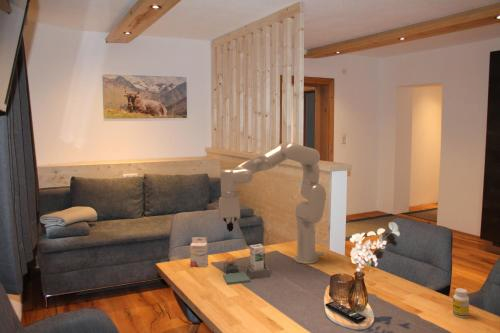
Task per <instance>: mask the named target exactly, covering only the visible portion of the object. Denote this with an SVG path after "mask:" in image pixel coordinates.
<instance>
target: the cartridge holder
mask: <svg viewBox="0 0 500 333" xmlns="http://www.w3.org/2000/svg"><path fill="white" fill-rule="evenodd" d="M270 271H271V270H270V268H269V267H268V265H266V264H265V269H264V270H255V271H252V270H251V265H250V264H248V265H246V274H247V276H248V277H249V279H250V280H253V279H259V278H268V277H270V276H271V274H270V273H271V272H270ZM252 278H253V279H252Z"/></svg>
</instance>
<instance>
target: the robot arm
mask: <svg viewBox="0 0 500 333" xmlns="http://www.w3.org/2000/svg"><path fill="white" fill-rule="evenodd" d="M320 159H321V154H320V152H319V151H318V150H317V149H315V148H312V147H308V146H305V145H301V144H298V143H295V142H288V141H286V142H281V143H280V144H278V145H276V146H274V147H273V148H271V149H270V150H267V151H266V152H263V153H261V154H260V155H257V156H256V157H252V158H250V159H249V160H246V161H244V162H243V163H241V164H239V165H237V166H235V168H226V169H222V170H220V175H219V176H220V195H221V196H219V199H218V200H219V201H218V215H219V217H218V220H220V221H223V222H225V223H226V230H227V231H228V232H233V230H234V223H235V222H236V221H237V220H238V219H239V220H240V219H241V208H240V200H239V196H238V195H240V191H238V190H237V184H238V185H239V184H242V185H243V184H244V185H247V184H249V183H251V182H252V180H253V178H254V176H253V174H256V173H259V172H262V171H263V172H264V171H268V170H272V169H273V168H275V167H277V166H278V165H280V164H281V163H283V162H285V161H288V160H290V161H293V162H297V163H300V165H301V167H302V180H301V186H300V195H301V197H303V198H304V199H306V200H307V201H305V200H304V201H303V200H302V201H300V202H299V203H297V204H296V206H295V211H294V212H295V213H294V214H295V219H296V236H297V237H296V239H297V240H296V241H297V246H296V248H297V250H296V251H297V254H296V256H294V261H295V262H296V263H299V264H305V265H309V264H314V263H315V264H316V263H318V261H319V257H324V256H325V252H324V251H321V252H320V251H317V250H316V224H317V223H319V222H320V221H321V220H322V218H323V216H324V212H325V206H326V200H327V199H326V198H327V191H326V189H325V187H324V186H323V184H320V183H319V182H320V181H319V180H320V166H319V164H318V163H319V162H320ZM229 218H230V219H229Z"/></svg>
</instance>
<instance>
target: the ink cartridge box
mask: <svg viewBox="0 0 500 333" xmlns="http://www.w3.org/2000/svg"><path fill="white" fill-rule="evenodd" d="M207 239H208V238H207V237H201V236H199V237H198V236H195V237H194V236H193V237H191V243H190V245H189V249H190V250H189V254H190V255H189V257H190V258H189V259H190V268H193V267H194V268H195V267H196V268H197V267H198V268H206V267H207V266H208V265H209V251H208V240H207Z"/></svg>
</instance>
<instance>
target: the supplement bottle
mask: <svg viewBox="0 0 500 333" xmlns="http://www.w3.org/2000/svg"><path fill="white" fill-rule="evenodd" d="M454 293H455V294H454V295H453V296H452V314H453V315H454V317H457V318H461V319H464V318H465V319H466V318H468V317H469V315H470V312H469V310H470V297H469V296H468V290H467V289H465V288H461V287H459V288H458V287H457V288H455V290H454Z"/></svg>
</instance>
